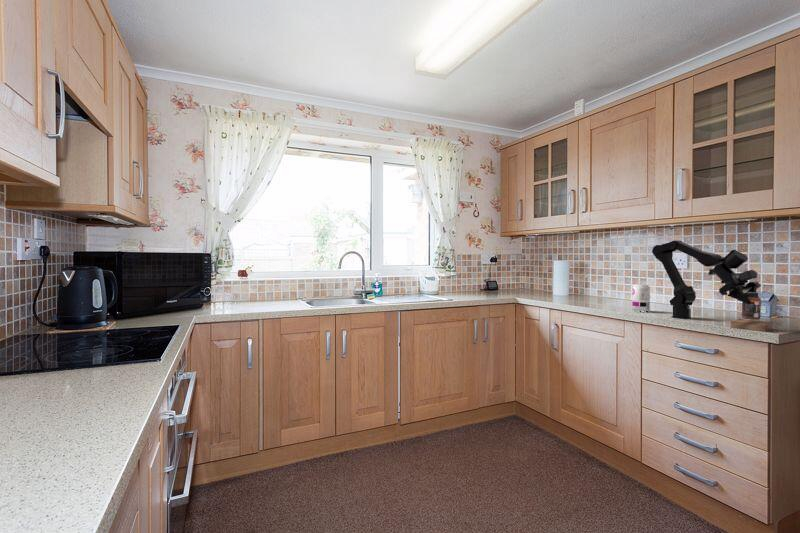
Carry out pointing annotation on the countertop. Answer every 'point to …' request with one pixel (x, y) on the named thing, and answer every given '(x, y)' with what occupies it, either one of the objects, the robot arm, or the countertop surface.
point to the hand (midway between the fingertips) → (755, 303)
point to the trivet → (751, 325)
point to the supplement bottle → (752, 307)
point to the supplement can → (641, 297)
